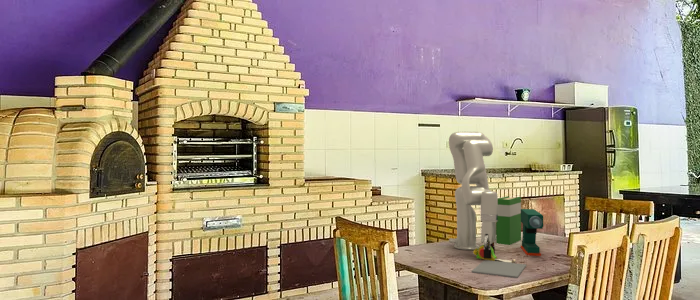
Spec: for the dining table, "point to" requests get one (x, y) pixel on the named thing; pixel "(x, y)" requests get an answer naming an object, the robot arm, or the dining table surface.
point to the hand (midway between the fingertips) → (489, 256)
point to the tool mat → (499, 268)
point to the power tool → (531, 231)
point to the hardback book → (508, 220)
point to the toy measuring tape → (480, 255)
